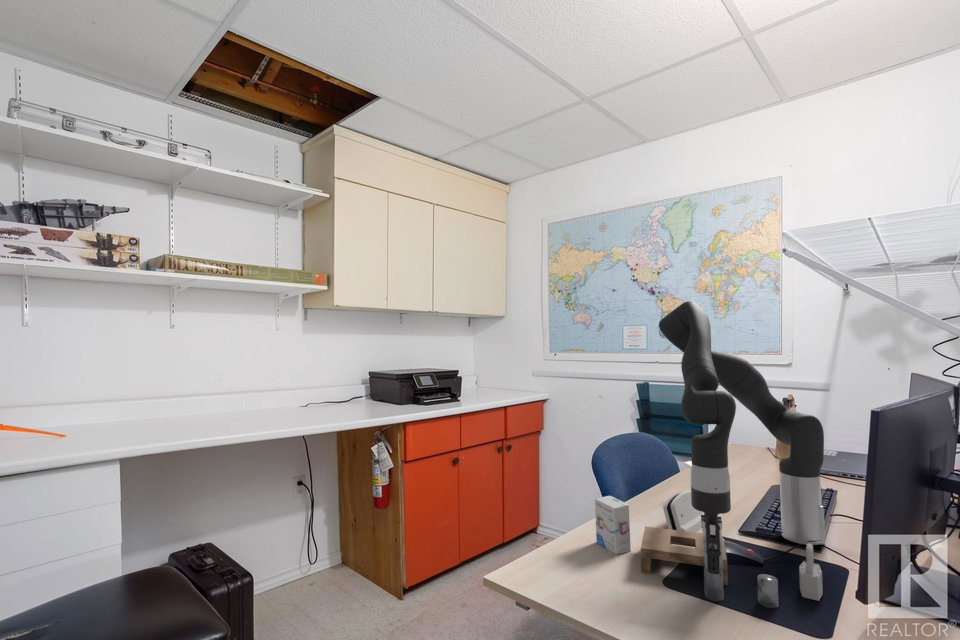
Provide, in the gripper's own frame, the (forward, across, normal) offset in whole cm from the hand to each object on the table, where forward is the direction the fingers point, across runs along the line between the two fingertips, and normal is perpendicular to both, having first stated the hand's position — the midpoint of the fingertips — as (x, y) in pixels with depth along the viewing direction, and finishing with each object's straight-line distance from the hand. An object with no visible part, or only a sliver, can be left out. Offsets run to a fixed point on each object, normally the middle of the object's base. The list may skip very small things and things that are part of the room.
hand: (712, 564), depth 105 cm
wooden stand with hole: (+7, +13, +6) cm, 16 cm away
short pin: (+7, +1, -10) cm, 12 cm away
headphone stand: (+7, +64, +2) cm, 64 cm away
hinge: (+7, +40, +5) cm, 41 cm away
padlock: (+7, +9, -19) cm, 22 cm away
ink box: (+7, +18, +23) cm, 30 cm away
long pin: (+7, 0, 0) cm, 7 cm away
